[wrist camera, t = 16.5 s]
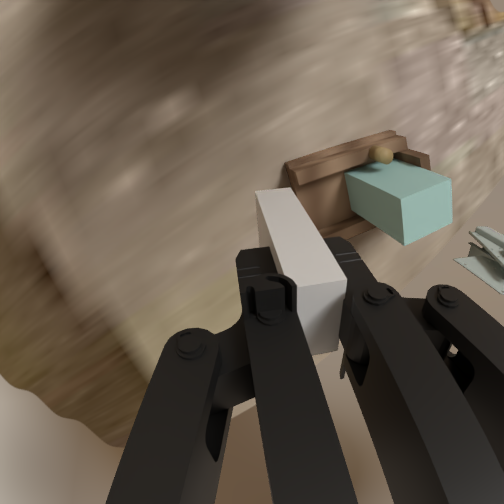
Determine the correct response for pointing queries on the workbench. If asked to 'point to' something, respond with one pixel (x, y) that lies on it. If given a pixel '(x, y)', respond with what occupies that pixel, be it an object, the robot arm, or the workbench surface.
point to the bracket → (486, 258)
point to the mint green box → (400, 198)
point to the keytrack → (344, 180)
